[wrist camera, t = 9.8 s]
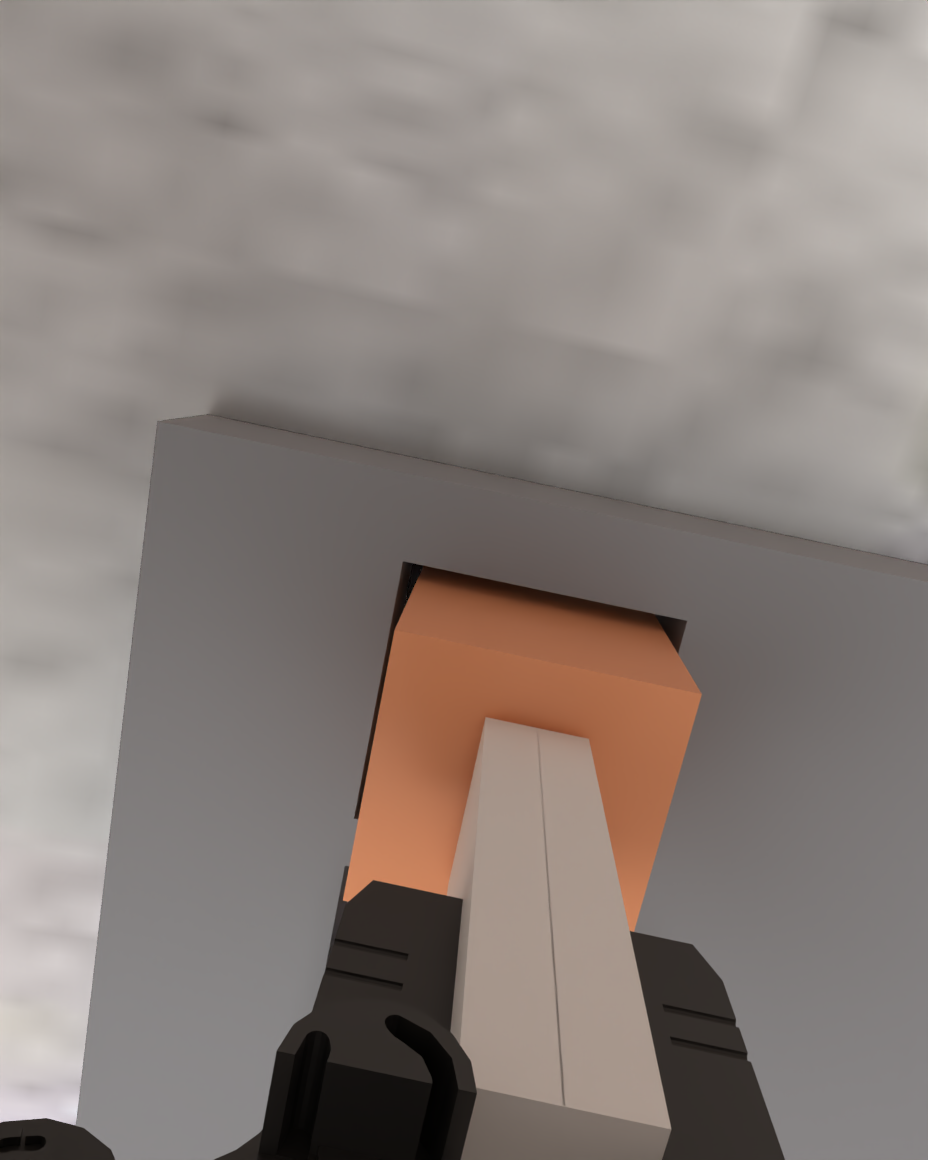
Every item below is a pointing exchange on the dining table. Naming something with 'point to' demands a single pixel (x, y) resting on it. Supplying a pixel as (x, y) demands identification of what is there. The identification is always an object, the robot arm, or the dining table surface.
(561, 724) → the button
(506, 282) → the dining table surface
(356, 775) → the console
